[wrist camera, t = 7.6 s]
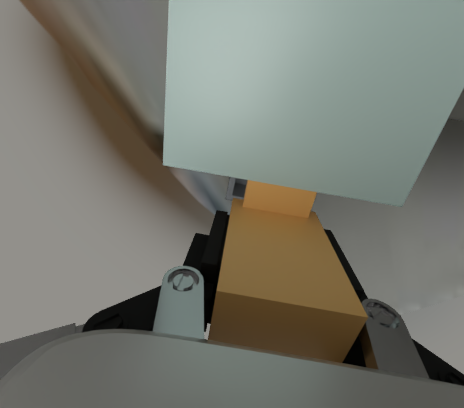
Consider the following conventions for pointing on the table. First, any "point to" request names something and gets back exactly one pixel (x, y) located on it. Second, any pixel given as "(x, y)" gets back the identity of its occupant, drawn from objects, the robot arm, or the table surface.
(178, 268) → the robot arm
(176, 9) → the tool with wooden handle
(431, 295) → the table surface
